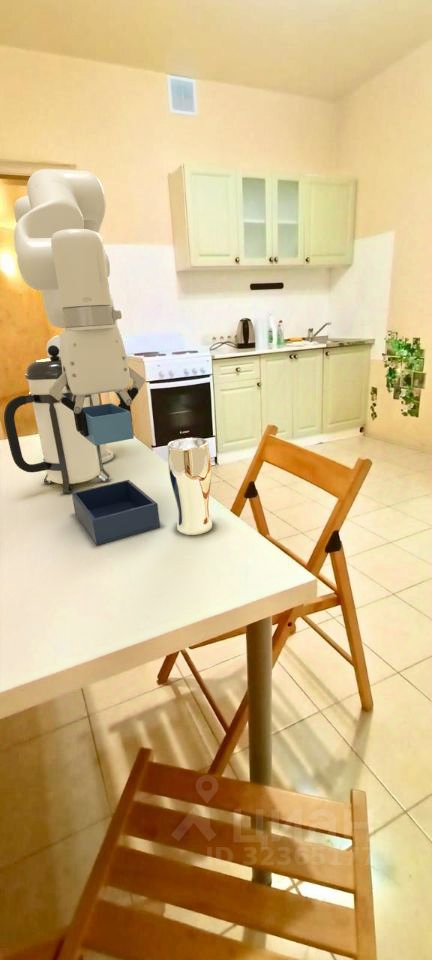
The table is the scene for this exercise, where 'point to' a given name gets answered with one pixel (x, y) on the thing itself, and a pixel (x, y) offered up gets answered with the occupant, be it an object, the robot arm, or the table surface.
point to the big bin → (115, 511)
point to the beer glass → (191, 483)
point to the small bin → (108, 424)
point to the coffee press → (54, 429)
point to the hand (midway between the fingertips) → (105, 430)
